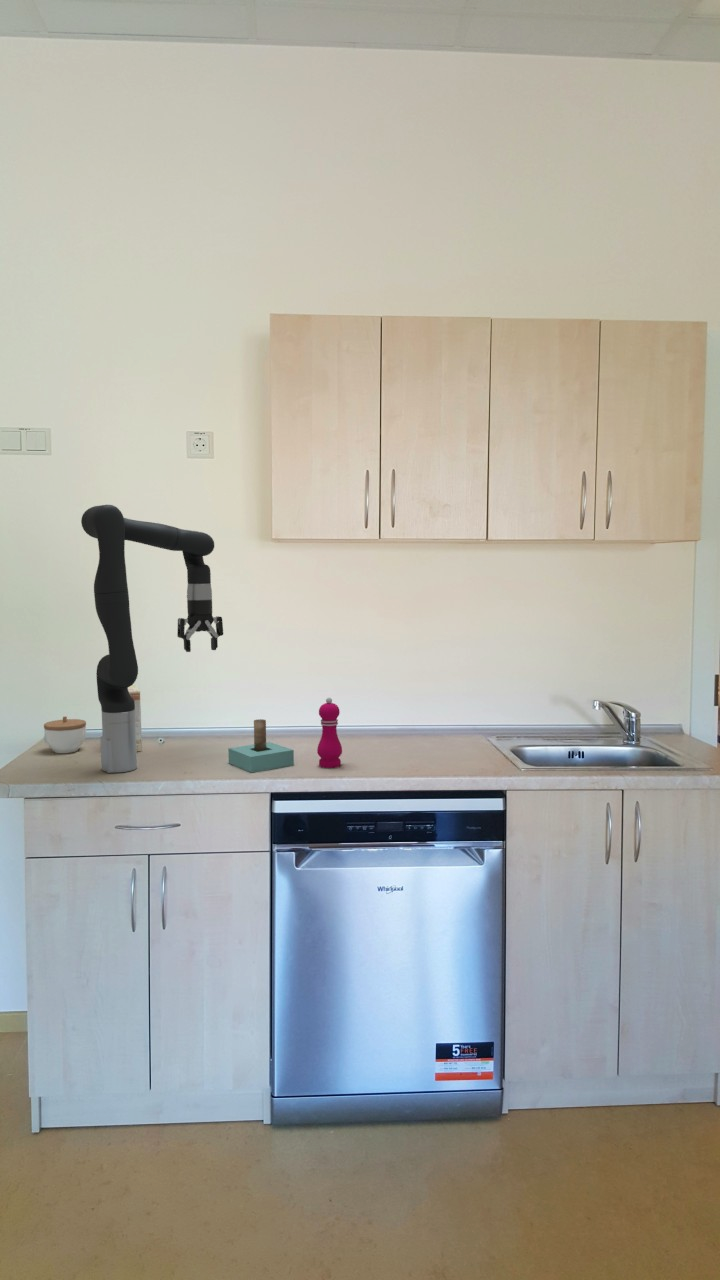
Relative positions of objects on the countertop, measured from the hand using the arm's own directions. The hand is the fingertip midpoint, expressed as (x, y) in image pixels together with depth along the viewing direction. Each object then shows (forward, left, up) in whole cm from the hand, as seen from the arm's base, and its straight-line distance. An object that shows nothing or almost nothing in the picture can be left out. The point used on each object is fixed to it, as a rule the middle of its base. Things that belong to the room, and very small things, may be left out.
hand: (201, 650), depth 251 cm
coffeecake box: (-16, +22, -32) cm, 42 cm away
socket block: (+7, -24, -32) cm, 41 cm away
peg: (+7, -24, -32) cm, 41 cm away
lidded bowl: (-34, +30, -32) cm, 56 cm away
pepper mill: (+22, -38, -32) cm, 55 cm away
